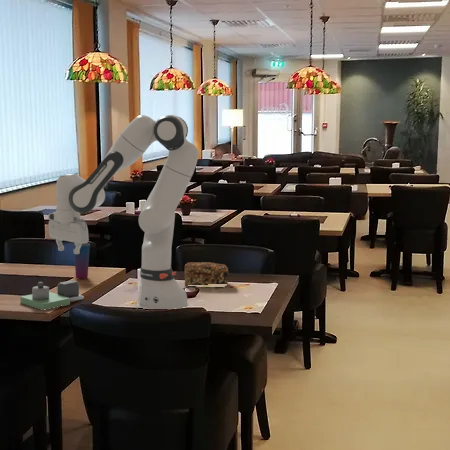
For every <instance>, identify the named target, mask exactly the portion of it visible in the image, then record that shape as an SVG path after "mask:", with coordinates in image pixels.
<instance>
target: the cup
mask: <svg viewBox="0 0 450 450" xmlns="http://www.w3.org/2000/svg"><path fill="white" fill-rule="evenodd" d="M75 247H76V245H75V243H73V249H75ZM90 249H91V244H90V243H88V242H87V243H84V244H82V246H81V248H80V253H79V254H74V253H73V254H74V267H75V279H76V278H79V279H78V280H85V279H84V278H87V277H88V276H89V262H90ZM88 278H89V277H88ZM88 278H87V279H88Z"/></svg>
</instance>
